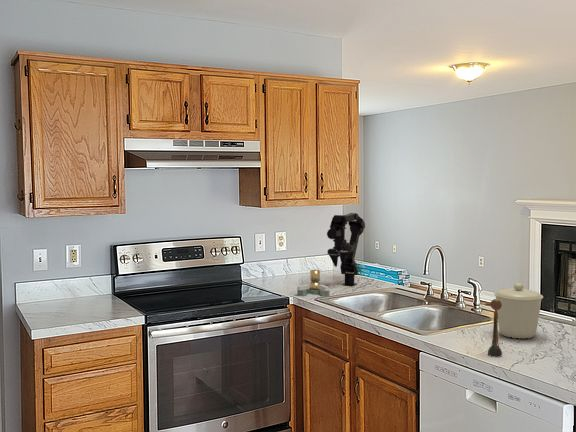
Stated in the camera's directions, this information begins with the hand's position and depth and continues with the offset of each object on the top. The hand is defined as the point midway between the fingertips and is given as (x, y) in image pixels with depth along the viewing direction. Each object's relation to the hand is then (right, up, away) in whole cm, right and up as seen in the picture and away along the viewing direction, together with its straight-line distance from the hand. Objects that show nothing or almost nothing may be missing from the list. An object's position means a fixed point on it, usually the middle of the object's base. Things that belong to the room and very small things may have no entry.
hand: (339, 265), depth 338 cm
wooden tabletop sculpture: (+44, -22, -123) cm, 133 cm away
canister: (+62, -20, -98) cm, 118 cm away
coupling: (-14, -14, -9) cm, 22 cm away
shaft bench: (-14, -14, -15) cm, 25 cm away
